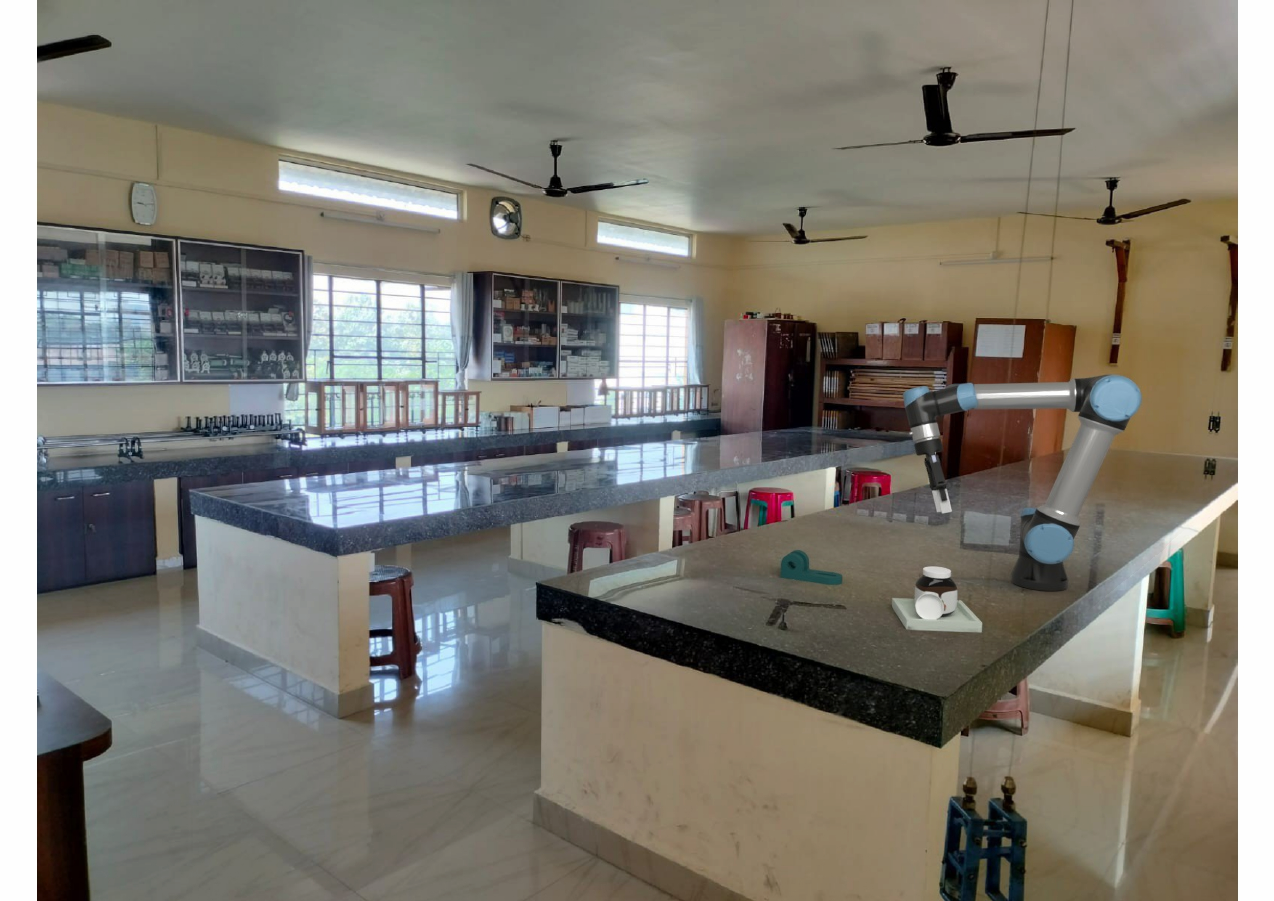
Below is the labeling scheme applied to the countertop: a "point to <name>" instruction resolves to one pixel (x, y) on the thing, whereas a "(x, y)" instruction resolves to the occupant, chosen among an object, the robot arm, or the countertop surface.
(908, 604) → the tray
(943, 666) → the countertop surface
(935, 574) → the spread jar
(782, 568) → the bracket
